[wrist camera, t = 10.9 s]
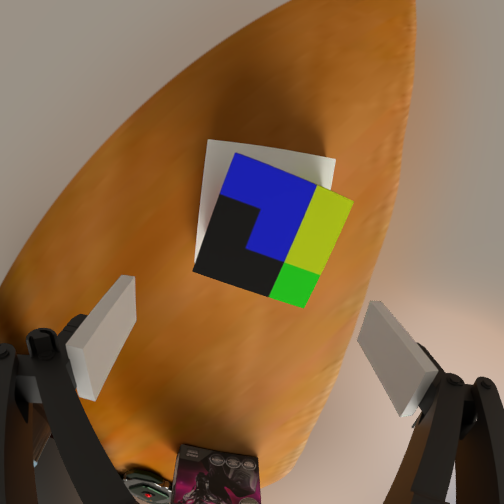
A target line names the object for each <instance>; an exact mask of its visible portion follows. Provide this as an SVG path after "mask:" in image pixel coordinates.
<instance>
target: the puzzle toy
mask: <svg viewBox="0 0 504 504" xmlns="http://www.w3.org/2000/svg"><path fill="white" fill-rule="evenodd" d="M353 203H354V201H352V200H350V199H348V198H346V197H344V196H342V195H339V194H337V193H335V192H333V191H331V190H329V189H327V188H325V187H323V186H320V185H318V184H316V183H313V182H311V181H309V180H306V179H304V178H301V177H299V176H297V175H294V174H292V173H289V172H287V171H284V170H282V169H279V168H277V167H274V166H272V165H269V164H267V163H264V162H262V161H259V160H256V159H254V158H251V157H248V156H246V155H243V154H240V153H237V152H236V153H235V154H234V156H233V159H232V161H231V164H230V167H229V169H228V172H227V175H226V177H225V180H224V183H223V185H222V188H221V191H220V193H219V196H218V199H217V202H216V204H215V207H214V210H213V213H212V216H211V218H210V221H209V224H208V227H207V230H206V233H205V235H204V238H203V241H202V244H201V247H200V250H199V253H198V256H197V259H196V262H195V265H194V268H193V272H195V273H198V274H201V275H204V276H207V277H210V278H213V279H216V280H218V281H221V282H224V283H227V284H230V285H233V286H236V287H239V288H242V289H245V290H248V291H251V292H254V293H257V294H260V295H263V296H266V297H270V298H273V299H276V300H279V301H282V302H285V303H288V304H291V305H295V306H298V307H301V308H304V307H305V305H306V303H307V301H308V299H309V297H310V295H311V293H312V291H313V289H314V287H315V285H316V283H317V281H318V279H319V277H320V275H321V273H322V271H323V269H324V267H325V265H326V262H327V260H328V258H329V256H330V254H331V252H332V250H333V248H334V245H335V243H336V241H337V239H338V237H339V234H340V232H341V230H342V228H343V226H344V223H345V221H346V219H347V217H348V214H349V212H350V210H351V207H352V205H353Z"/></svg>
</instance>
